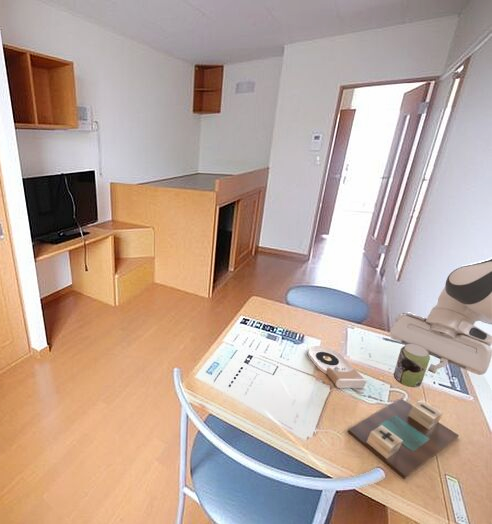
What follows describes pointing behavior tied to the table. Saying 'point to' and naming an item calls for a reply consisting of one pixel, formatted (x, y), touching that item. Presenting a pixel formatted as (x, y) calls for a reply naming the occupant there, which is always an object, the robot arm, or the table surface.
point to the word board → (404, 435)
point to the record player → (336, 367)
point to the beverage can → (411, 365)
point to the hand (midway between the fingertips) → (423, 368)
